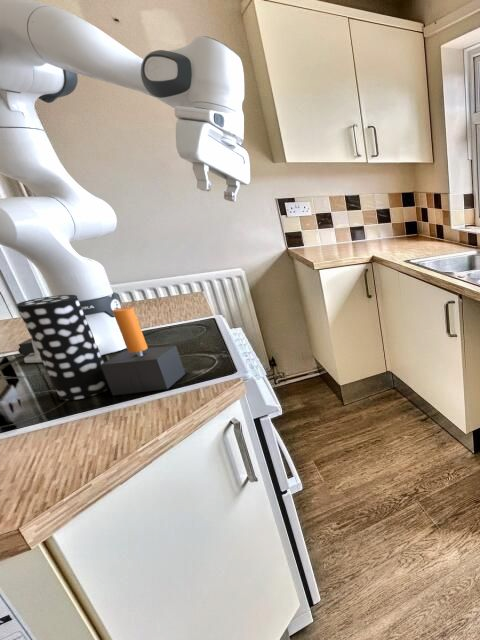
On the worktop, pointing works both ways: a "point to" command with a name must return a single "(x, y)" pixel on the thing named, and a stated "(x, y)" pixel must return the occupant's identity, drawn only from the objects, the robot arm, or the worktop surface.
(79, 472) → the worktop surface
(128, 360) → the holder
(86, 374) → the spotted tube
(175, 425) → the worktop surface
